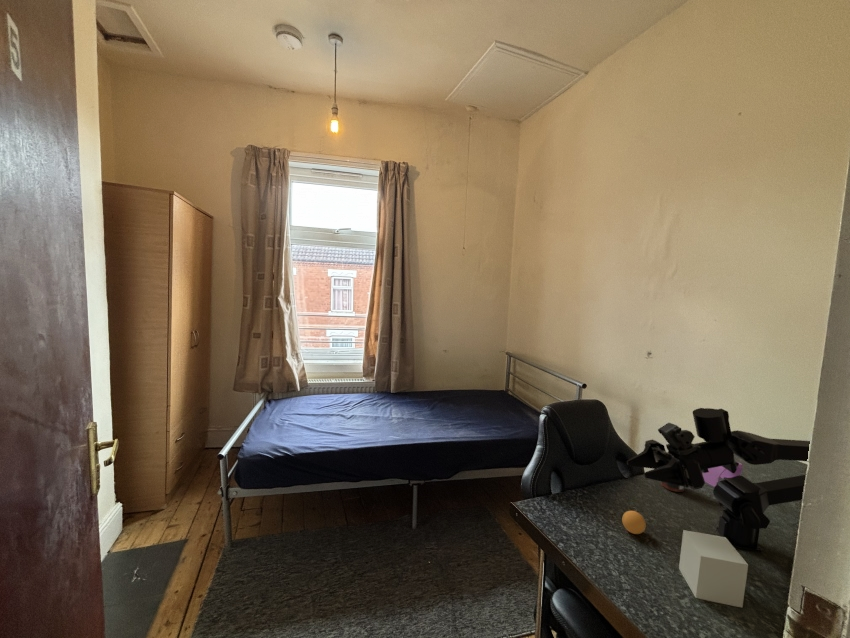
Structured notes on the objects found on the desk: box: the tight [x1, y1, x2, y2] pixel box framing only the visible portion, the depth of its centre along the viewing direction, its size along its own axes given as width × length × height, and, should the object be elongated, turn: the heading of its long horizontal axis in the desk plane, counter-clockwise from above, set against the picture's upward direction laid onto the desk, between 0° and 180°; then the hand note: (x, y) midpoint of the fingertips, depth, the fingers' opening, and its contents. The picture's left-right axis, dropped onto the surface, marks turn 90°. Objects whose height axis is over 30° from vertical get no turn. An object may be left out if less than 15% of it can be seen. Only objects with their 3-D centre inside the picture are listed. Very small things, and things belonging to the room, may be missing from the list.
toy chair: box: [702, 461, 744, 488], centre depth 114 cm, size 8×9×15 cm
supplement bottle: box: [660, 449, 686, 493], centre depth 110 cm, size 6×6×11 cm
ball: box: [621, 510, 647, 535], centre depth 90 cm, size 5×5×5 cm
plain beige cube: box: [678, 529, 749, 608], centre depth 74 cm, size 8×8×9 cm
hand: (635, 469), depth 88 cm, fingers open, 9 cm apart
